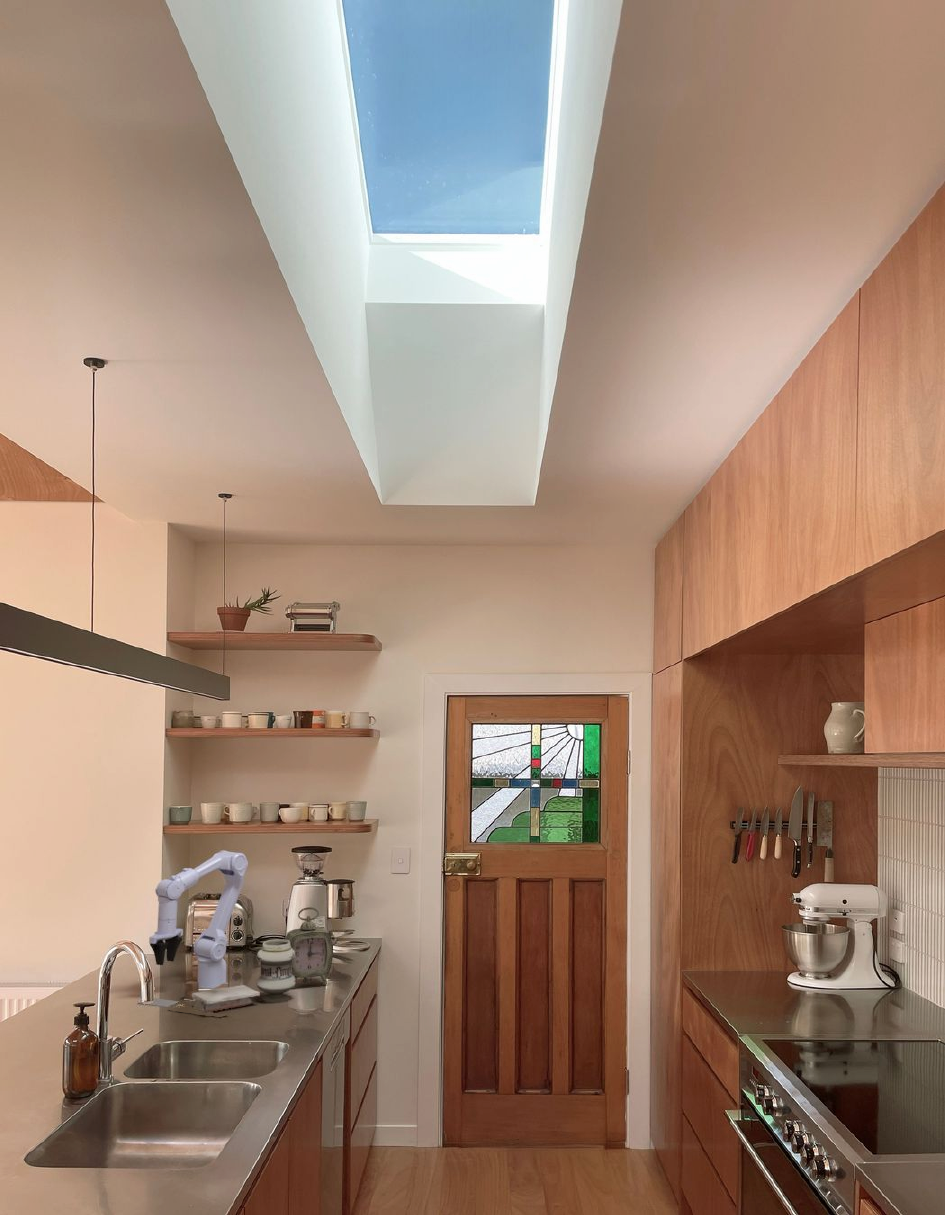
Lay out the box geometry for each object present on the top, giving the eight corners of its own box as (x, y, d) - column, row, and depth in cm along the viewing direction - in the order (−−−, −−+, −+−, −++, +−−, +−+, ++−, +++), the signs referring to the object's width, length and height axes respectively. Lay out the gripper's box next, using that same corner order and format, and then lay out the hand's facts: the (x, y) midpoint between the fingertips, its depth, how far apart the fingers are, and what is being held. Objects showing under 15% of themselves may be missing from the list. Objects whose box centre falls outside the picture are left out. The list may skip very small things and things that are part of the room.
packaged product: (190, 1008, 322) (205, 1017, 314) (191, 992, 322) (206, 1000, 315) (243, 999, 334) (259, 1007, 326) (244, 983, 334) (260, 991, 326)
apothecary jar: (248, 1000, 332) (249, 941, 334) (279, 993, 341) (280, 935, 343) (271, 1009, 324) (273, 948, 326) (303, 1000, 333) (304, 941, 334)
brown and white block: (183, 1001, 332) (183, 983, 332) (191, 998, 335) (191, 980, 336) (207, 1004, 329) (208, 986, 329) (215, 1001, 332) (215, 983, 333)
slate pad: (149, 999, 333) (149, 997, 333) (179, 1003, 329) (179, 1001, 329) (137, 1004, 328) (137, 1002, 328) (167, 1008, 324) (167, 1006, 324)
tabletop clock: (288, 990, 344) (290, 911, 346) (281, 983, 352) (283, 906, 354) (331, 985, 350) (333, 908, 352) (324, 979, 358) (325, 903, 360)
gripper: (171, 913, 346) (168, 956, 345) (142, 921, 333) (139, 966, 332) (189, 915, 344) (187, 959, 342) (160, 923, 330) (158, 968, 329)
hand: (165, 962), depth 337 cm, fingers open, 5 cm apart
